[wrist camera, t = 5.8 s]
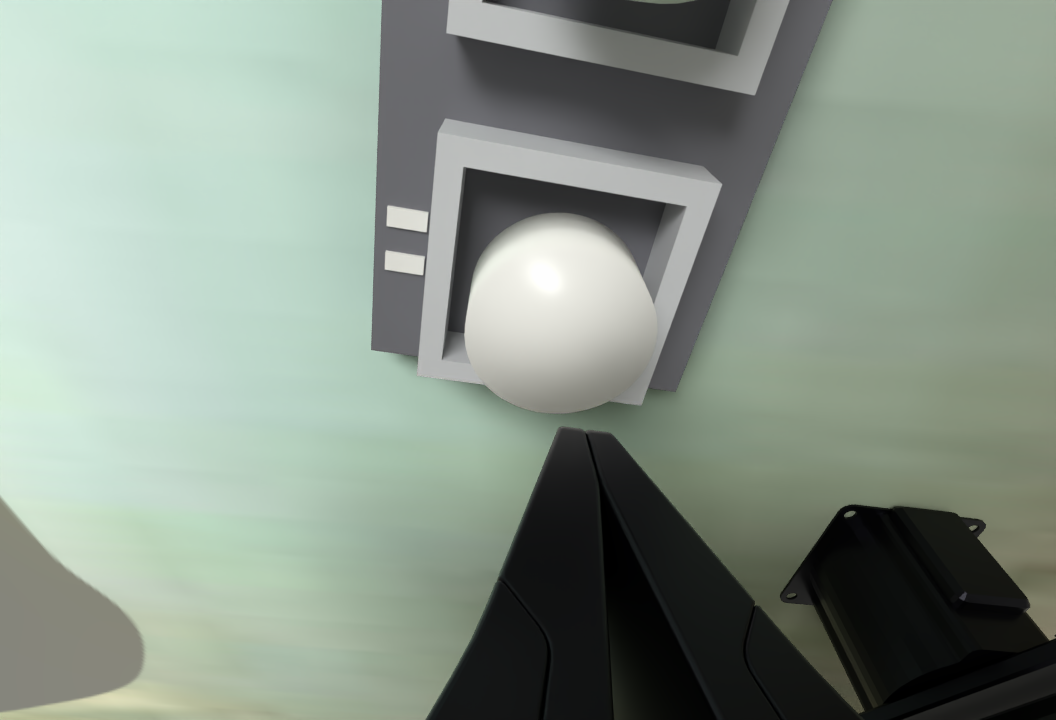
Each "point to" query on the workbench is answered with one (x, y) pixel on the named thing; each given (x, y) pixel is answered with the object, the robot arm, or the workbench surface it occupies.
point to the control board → (573, 149)
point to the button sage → (664, 1)
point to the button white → (559, 315)
